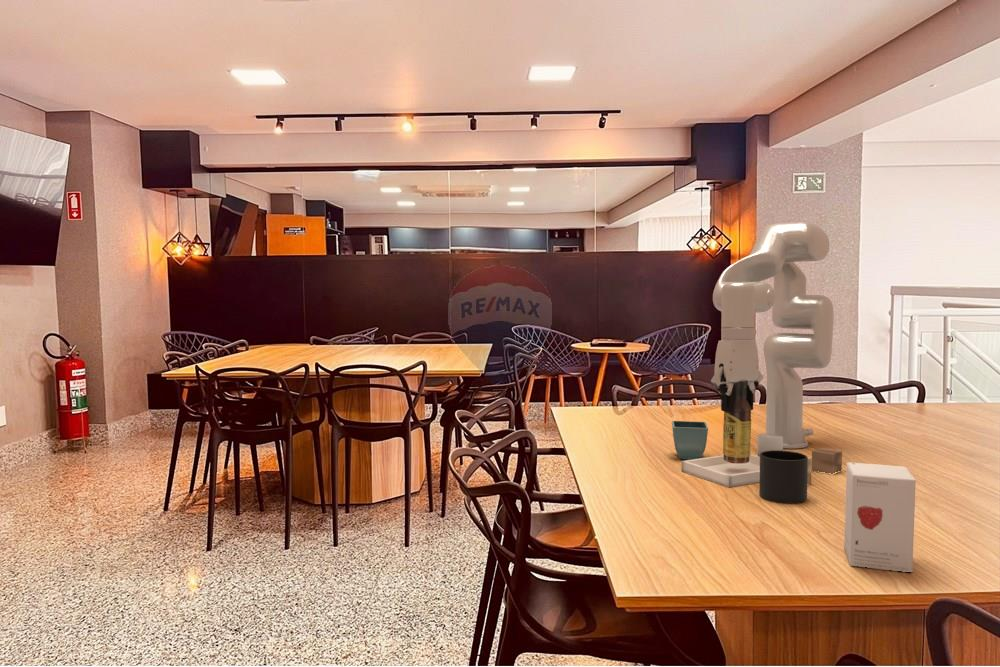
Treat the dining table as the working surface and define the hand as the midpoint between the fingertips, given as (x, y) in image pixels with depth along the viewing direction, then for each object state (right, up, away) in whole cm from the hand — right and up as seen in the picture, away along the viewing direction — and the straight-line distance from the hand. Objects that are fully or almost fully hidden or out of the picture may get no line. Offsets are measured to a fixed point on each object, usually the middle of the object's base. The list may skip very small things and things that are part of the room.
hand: (737, 409), depth 167 cm
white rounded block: (+12, -15, +11) cm, 22 cm away
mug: (+4, -17, -17) cm, 24 cm away
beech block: (+12, -16, -7) cm, 21 cm away
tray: (0, -16, +1) cm, 16 cm away
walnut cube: (+23, -15, +3) cm, 27 cm away
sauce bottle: (0, -13, +1) cm, 13 cm away
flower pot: (-7, -15, +18) cm, 24 cm away
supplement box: (+5, -19, -53) cm, 57 cm away
